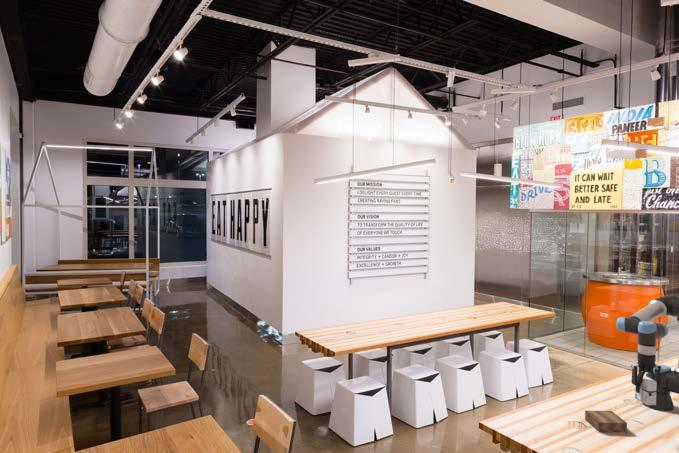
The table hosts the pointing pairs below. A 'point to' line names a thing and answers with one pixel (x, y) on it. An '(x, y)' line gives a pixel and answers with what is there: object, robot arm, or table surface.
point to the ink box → (648, 391)
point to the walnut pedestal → (605, 421)
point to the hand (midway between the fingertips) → (645, 399)
